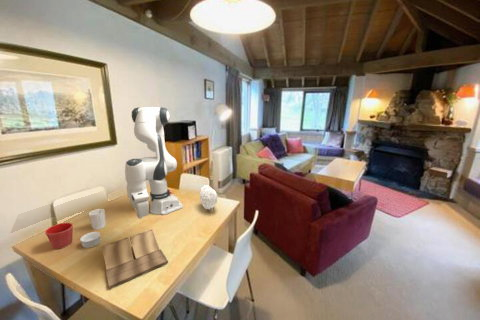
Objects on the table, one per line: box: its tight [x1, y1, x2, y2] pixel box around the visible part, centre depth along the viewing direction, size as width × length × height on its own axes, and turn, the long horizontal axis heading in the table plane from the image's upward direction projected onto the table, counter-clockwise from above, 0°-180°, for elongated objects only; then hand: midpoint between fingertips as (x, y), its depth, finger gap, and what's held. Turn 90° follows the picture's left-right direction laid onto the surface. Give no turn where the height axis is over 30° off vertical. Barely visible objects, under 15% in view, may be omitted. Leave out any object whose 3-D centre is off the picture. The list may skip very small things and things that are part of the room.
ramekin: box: [79, 231, 101, 249], centre depth 111 cm, size 9×9×4 cm
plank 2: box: [129, 229, 160, 260], centre depth 106 cm, size 11×12×2 cm
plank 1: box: [101, 237, 135, 271], centre depth 99 cm, size 11×12×2 cm
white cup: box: [88, 208, 107, 230], centre depth 125 cm, size 8×8×10 cm
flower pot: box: [44, 222, 74, 250], centre depth 109 cm, size 11×11×10 cm
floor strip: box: [105, 248, 169, 290], centre depth 96 cm, size 24×11×2 cm, turn 129°
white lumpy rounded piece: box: [199, 184, 218, 212], centre depth 150 cm, size 18×11×17 cm, turn 32°
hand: (139, 217), depth 106 cm, fingers closed
